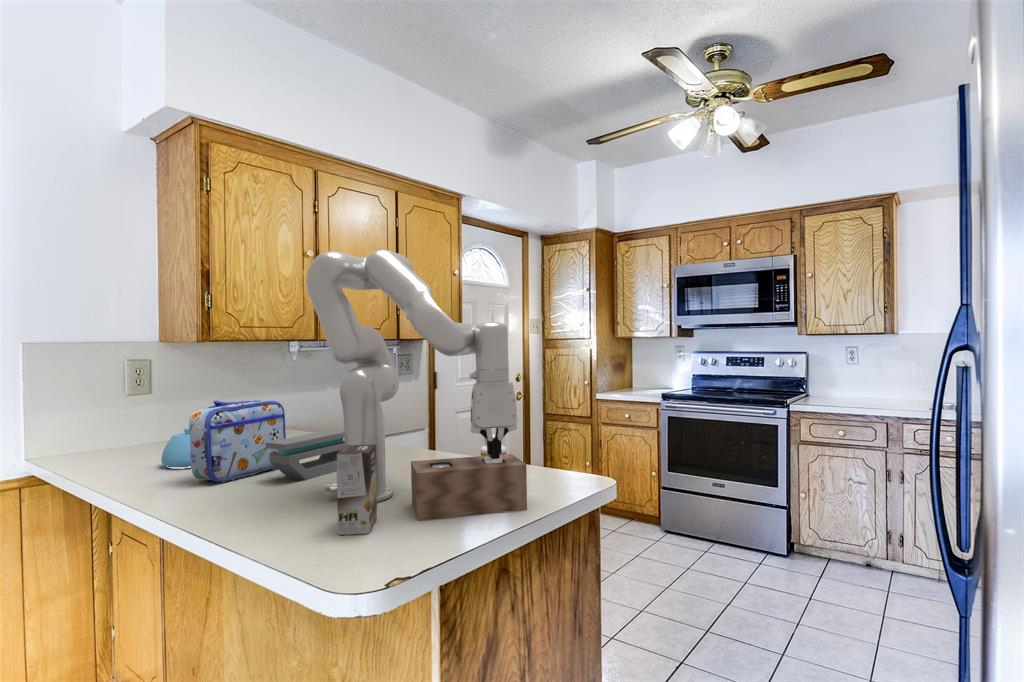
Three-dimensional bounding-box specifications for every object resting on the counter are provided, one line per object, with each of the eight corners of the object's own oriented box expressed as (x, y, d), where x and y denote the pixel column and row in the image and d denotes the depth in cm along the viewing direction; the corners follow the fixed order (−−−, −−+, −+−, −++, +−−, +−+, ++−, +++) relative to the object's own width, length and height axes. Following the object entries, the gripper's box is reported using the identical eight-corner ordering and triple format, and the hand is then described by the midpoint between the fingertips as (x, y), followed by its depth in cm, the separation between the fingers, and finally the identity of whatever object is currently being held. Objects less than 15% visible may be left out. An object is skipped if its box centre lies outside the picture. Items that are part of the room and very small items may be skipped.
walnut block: (417, 520, 117) (416, 473, 117) (411, 504, 129) (411, 461, 129) (527, 509, 124) (526, 464, 124) (512, 495, 136) (511, 453, 136)
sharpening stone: (335, 463, 174) (334, 428, 174) (354, 466, 170) (353, 430, 170) (266, 482, 152) (265, 442, 152) (286, 485, 148) (285, 444, 148)
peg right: (487, 500, 126) (486, 459, 126) (483, 495, 130) (482, 456, 129) (504, 498, 127) (504, 458, 127) (500, 493, 131) (499, 455, 131)
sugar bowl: (181, 460, 183) (180, 424, 183) (226, 459, 183) (225, 424, 183) (150, 470, 168) (149, 432, 168) (199, 470, 168) (198, 431, 168)
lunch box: (207, 489, 146) (206, 404, 146) (181, 485, 150) (180, 403, 150) (291, 466, 170) (289, 394, 170) (266, 464, 175) (265, 393, 175)
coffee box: (370, 534, 110) (369, 452, 110) (336, 535, 109) (335, 453, 109) (377, 519, 119) (376, 443, 119) (346, 520, 118) (345, 444, 118)
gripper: (463, 379, 122) (465, 463, 122) (528, 376, 126) (530, 458, 126) (457, 377, 130) (459, 457, 130) (519, 374, 134) (521, 451, 134)
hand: (494, 457), depth 128 cm, fingers closed
